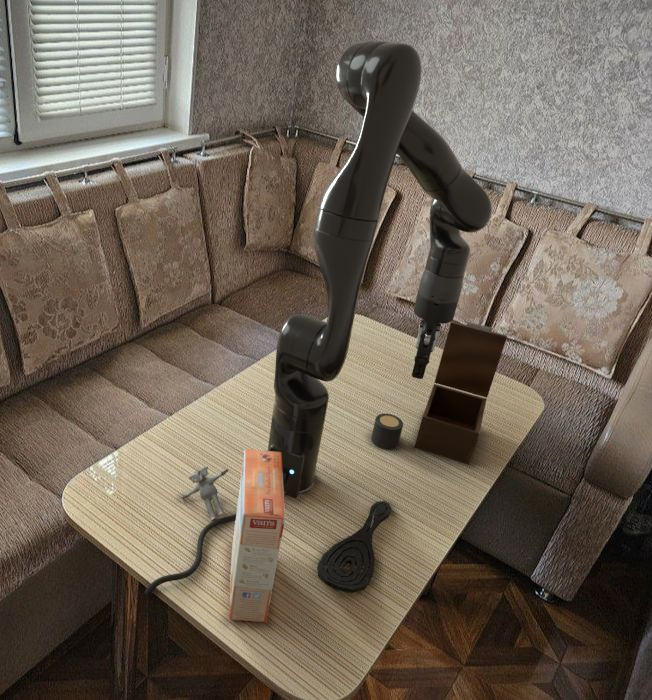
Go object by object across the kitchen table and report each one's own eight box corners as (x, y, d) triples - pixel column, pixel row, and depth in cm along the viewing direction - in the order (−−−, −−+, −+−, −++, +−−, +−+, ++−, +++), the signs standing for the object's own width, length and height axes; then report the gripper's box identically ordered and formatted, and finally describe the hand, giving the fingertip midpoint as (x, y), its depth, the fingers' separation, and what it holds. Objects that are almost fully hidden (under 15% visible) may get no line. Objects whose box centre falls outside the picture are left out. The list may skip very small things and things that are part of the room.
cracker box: (269, 624, 97) (286, 517, 87) (227, 621, 97) (240, 514, 86) (268, 551, 109) (283, 449, 99) (231, 548, 109) (242, 446, 98)
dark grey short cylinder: (395, 452, 135) (400, 432, 132) (368, 444, 137) (372, 424, 134) (400, 438, 139) (405, 418, 137) (374, 429, 141) (379, 410, 139)
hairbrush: (410, 502, 118) (358, 592, 98) (406, 518, 120) (354, 610, 100) (367, 484, 121) (308, 567, 102) (363, 500, 123) (304, 584, 103)
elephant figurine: (185, 529, 112) (168, 483, 117) (202, 534, 117) (185, 489, 122) (235, 499, 110) (215, 453, 115) (250, 506, 115) (230, 461, 120)
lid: (507, 337, 133) (509, 325, 137) (450, 322, 136) (454, 312, 141) (487, 397, 141) (489, 385, 145) (434, 382, 144) (438, 371, 148)
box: (469, 464, 134) (479, 433, 130) (414, 447, 137) (422, 416, 133) (477, 428, 145) (486, 398, 141) (426, 413, 148) (434, 383, 144)
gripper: (422, 275, 131) (404, 347, 139) (414, 303, 120) (395, 379, 128) (461, 283, 130) (441, 355, 138) (457, 312, 118) (435, 389, 126)
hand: (419, 367), depth 133 cm, fingers open, 8 cm apart
